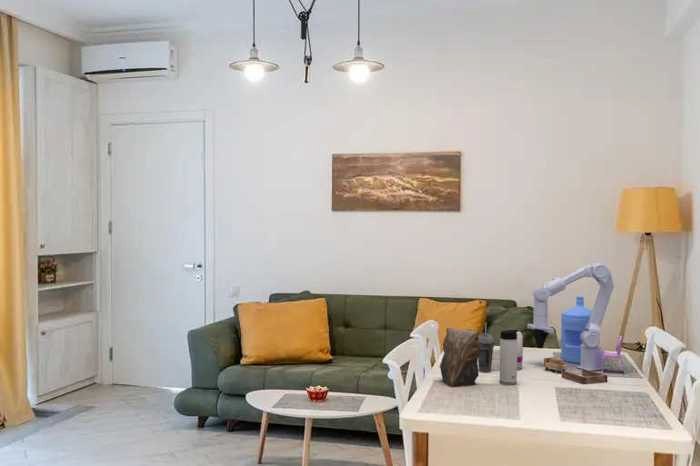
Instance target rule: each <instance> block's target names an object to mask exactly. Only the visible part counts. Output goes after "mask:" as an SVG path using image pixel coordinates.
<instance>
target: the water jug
mask: <svg viewBox="0 0 700 466" xmlns="http://www.w3.org/2000/svg"><path fill="white" fill-rule="evenodd" d="M575 298H576V300H575V306H574V307H571V308H569V309H567V310H565V311H562V313H561V317H560V321H561V327H560V328H561V329H560V333H561V334H560V343H561V345H560V347H561V348H560V359H562V360H564V363H570V364H578V365H580V356H581V345H582V343H583V342H582V341H581V339H580V334H581V333H582V331H584V329H585V327H586V325H587V324H588V322H589V319H590V316H591V313H592V310H591V309H589V308H587V307H586V306H584V303H585V301H584V298H585V297H584V296H576V297H575Z"/></svg>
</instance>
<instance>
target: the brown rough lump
mask: <svg viewBox="0 0 700 466" xmlns="http://www.w3.org/2000/svg"><path fill="white" fill-rule="evenodd" d="M479 335H480V331H479V330H477V331H476V330H472V329H470V328H465V329H462V328H459V329H458V328H453V327H446V335H445V337H444V339H443V343H442V350H443V355H442V358H441V362H440V364H439V368H440V369H439V370H440V374H441V379H442V380H441V381H442V382H443V383H444V384H446V385H447V386H448V387H450V388H458V387H468V386H475V385H477V383H476V380H477V378H478V377H479V364H478V357H479V354H480V351H479V346H480V345H479V341H478V336H479Z"/></svg>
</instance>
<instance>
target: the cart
mask: <svg viewBox="0 0 700 466" xmlns="http://www.w3.org/2000/svg"><path fill="white" fill-rule="evenodd" d="M564 363H565V361H564V360H562V359H561V358H557V357H553V356H552V357H543V367H544V369H545V370H546V371H548V370H549V369H552V370H554V373H555V374H558V373H559V371H561V372H562V371H566V370H567V369H568V366H567V365H568V364H564Z"/></svg>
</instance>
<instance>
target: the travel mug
mask: <svg viewBox="0 0 700 466" xmlns="http://www.w3.org/2000/svg"><path fill="white" fill-rule="evenodd" d="M517 332H519V330H518V329H506V330H501V331H500V332H499V336H500V338H499V383H500V384H502V385H504V386H505V385H506V386H513V385H516V384H518V381H517V379H518V377H517V376H518V370H517Z"/></svg>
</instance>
